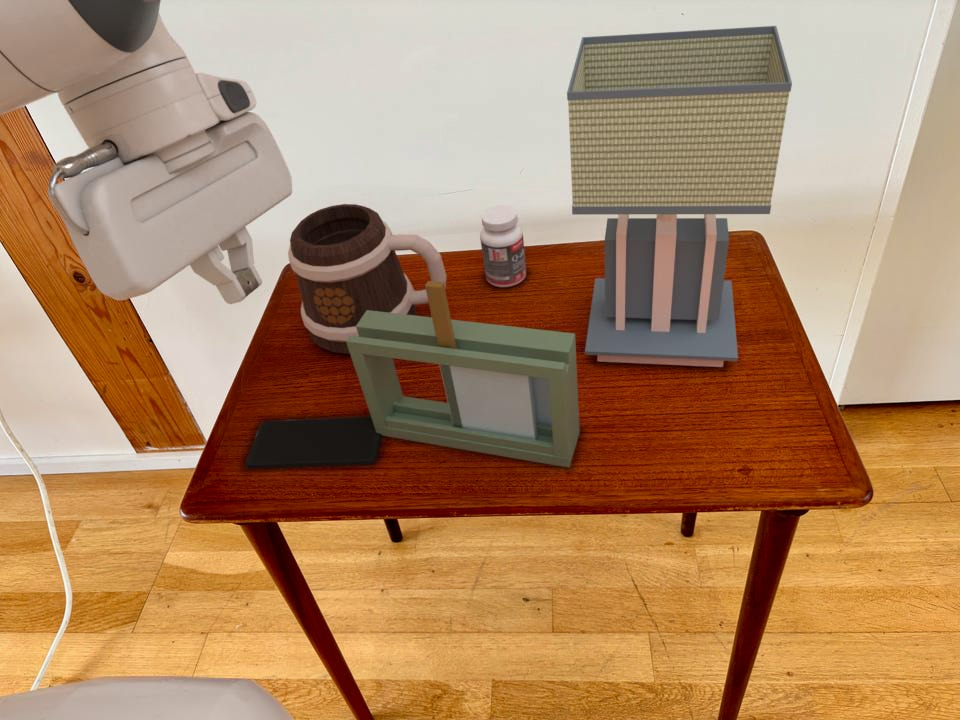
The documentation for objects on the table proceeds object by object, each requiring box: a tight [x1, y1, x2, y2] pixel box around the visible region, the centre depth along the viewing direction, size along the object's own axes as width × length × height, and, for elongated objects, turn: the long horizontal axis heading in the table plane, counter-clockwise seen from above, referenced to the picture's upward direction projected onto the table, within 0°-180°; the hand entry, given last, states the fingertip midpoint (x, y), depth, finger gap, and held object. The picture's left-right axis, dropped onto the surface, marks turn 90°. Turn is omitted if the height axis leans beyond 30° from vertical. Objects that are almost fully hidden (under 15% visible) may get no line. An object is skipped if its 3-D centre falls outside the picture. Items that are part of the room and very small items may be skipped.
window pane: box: [424, 280, 538, 440], centre depth 69 cm, size 1×9×19 cm, turn 72°
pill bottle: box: [479, 204, 527, 288], centre depth 95 cm, size 6×6×10 cm
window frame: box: [346, 310, 581, 469], centre depth 73 cm, size 5×22×14 cm, turn 72°
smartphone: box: [245, 415, 383, 470], centre depth 80 cm, size 7×1×15 cm
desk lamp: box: [566, 25, 793, 368], centre depth 76 cm, size 18×14×33 cm
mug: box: [287, 203, 448, 355], centre depth 90 cm, size 20×15×15 cm
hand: (245, 294), depth 56 cm, fingers closed
